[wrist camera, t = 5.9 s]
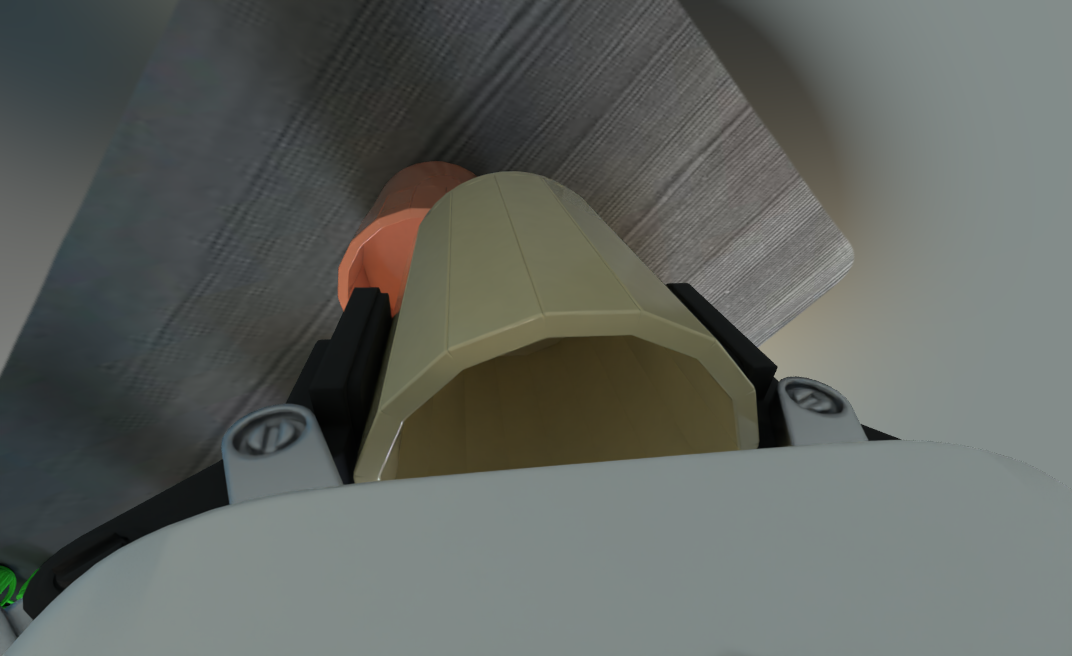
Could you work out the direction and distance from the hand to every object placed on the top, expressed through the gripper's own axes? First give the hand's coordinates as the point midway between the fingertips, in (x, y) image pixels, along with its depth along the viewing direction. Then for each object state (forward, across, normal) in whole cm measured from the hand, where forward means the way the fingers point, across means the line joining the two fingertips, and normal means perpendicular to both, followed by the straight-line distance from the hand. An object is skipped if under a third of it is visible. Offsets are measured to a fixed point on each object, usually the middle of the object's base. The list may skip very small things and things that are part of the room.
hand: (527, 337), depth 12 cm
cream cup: (+4, 0, 0) cm, 4 cm away
